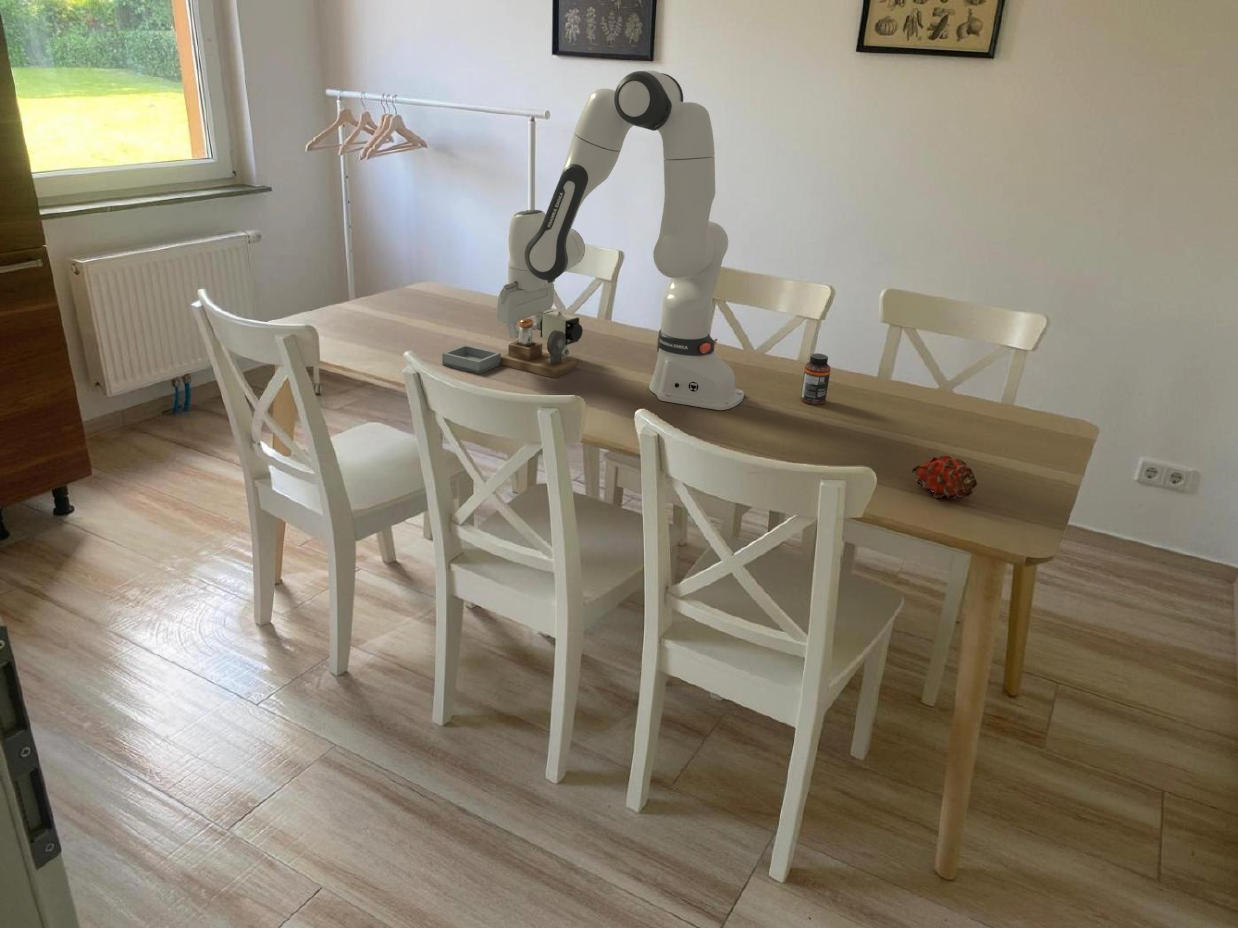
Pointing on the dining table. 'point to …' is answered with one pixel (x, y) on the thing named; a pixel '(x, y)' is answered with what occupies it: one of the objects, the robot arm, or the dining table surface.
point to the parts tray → (471, 359)
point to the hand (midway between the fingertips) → (524, 333)
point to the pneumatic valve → (561, 327)
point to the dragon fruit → (946, 477)
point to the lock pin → (525, 332)
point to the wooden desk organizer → (540, 357)
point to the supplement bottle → (815, 380)
